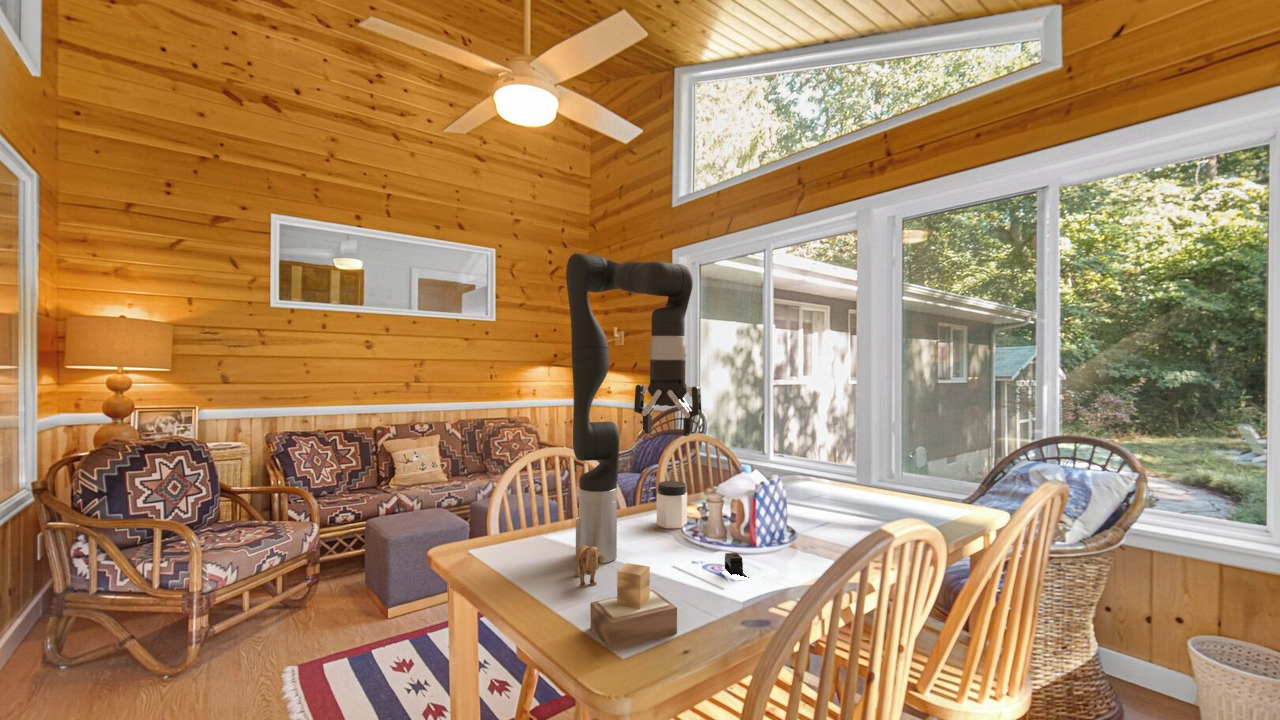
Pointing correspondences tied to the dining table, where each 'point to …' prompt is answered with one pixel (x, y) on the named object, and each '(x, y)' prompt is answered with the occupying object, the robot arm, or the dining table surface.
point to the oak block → (633, 585)
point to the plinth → (633, 621)
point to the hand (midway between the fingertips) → (667, 434)
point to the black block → (734, 564)
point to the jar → (671, 504)
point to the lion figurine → (588, 563)
